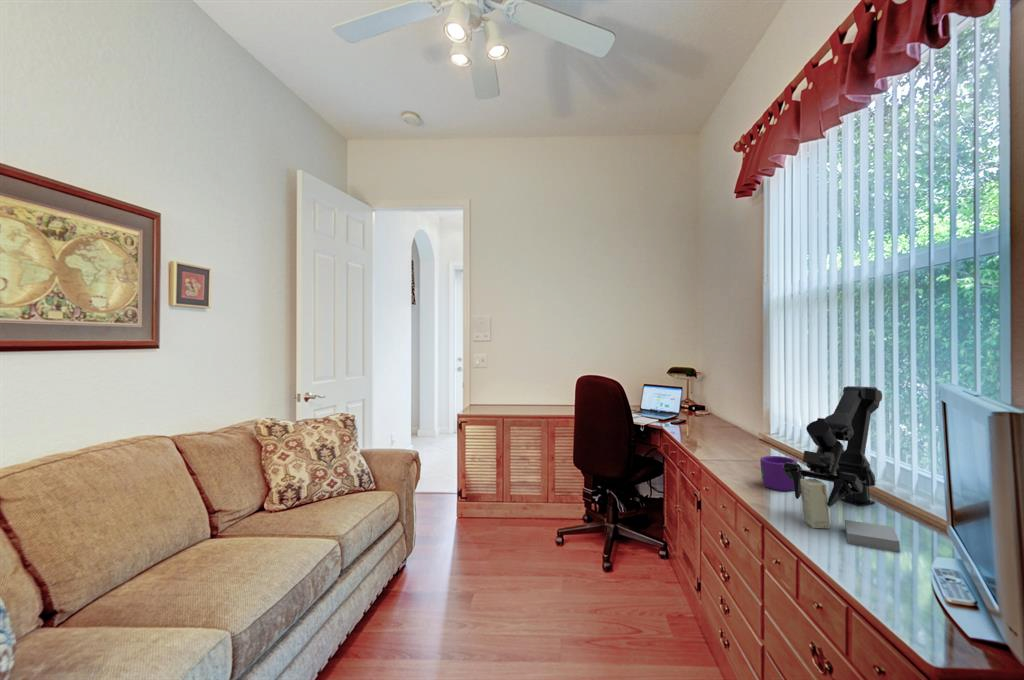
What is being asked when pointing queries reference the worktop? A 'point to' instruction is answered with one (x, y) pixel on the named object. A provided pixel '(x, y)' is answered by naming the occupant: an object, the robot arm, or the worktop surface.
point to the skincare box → (814, 503)
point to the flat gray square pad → (872, 535)
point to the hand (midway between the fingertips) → (812, 501)
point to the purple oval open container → (776, 473)
